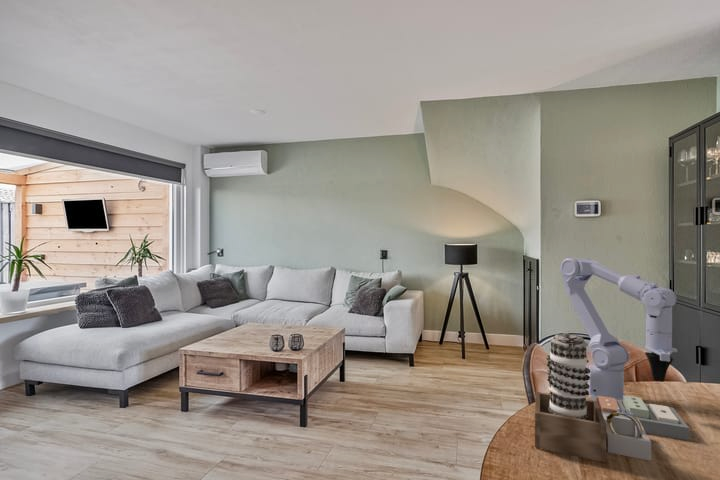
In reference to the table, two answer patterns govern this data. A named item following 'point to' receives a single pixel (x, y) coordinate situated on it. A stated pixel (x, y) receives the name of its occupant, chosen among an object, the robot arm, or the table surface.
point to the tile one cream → (663, 413)
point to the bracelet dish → (627, 439)
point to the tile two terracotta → (607, 404)
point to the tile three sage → (636, 406)
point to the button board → (658, 423)
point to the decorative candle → (568, 376)
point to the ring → (627, 414)
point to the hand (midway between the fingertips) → (658, 380)
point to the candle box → (570, 431)
